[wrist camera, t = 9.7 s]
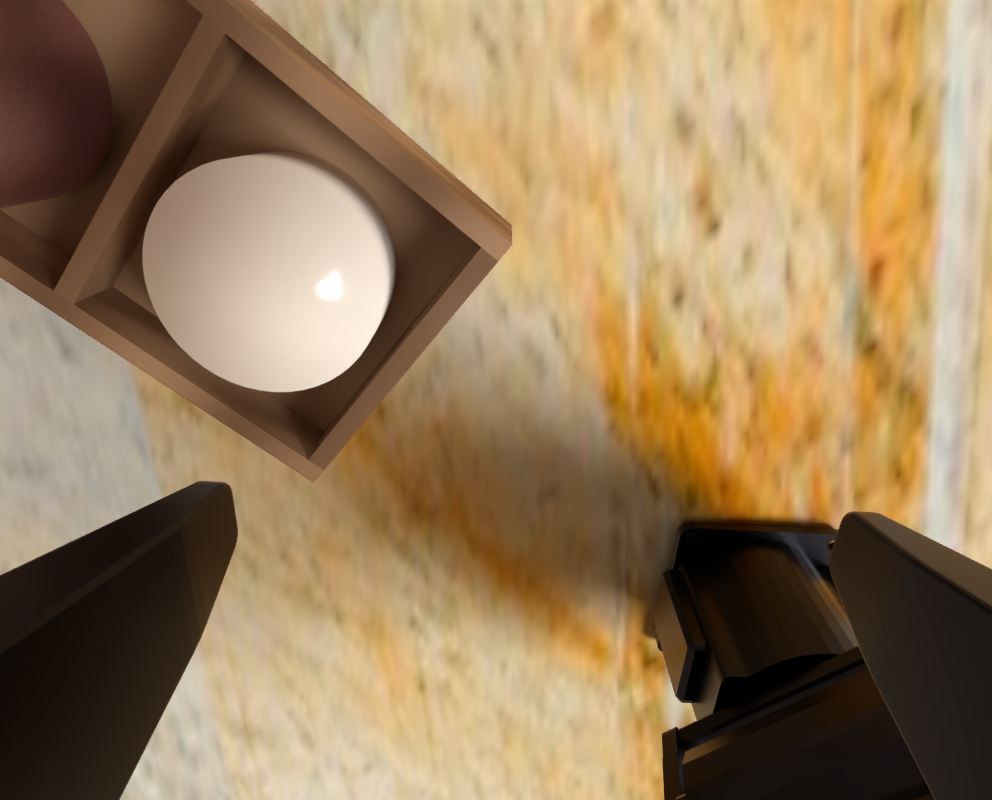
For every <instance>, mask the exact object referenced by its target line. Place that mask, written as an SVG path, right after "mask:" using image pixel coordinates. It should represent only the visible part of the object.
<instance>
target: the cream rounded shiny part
mask: <svg viewBox="0 0 992 800" xmlns="http://www.w3.org/2000/svg"><path fill="white" fill-rule="evenodd" d="M142 263H143V272H144V279H145V283H146V287H147V291H148V294H149V297H150V299H151V302H152V305H153V307H154V309H155V311H156V313H157V315H158V317H159V319H160V321H161V322H162V324H163V325H164V327H165V328H166V330H167V331H168V333H169V334H170V336H171V337H172V338H173V339H174V340H175V341H176V343H177V344H178V345H179V346H180V347H181V348H182V349H183V350H184V351H185V352H186V353H187V354H188V355H189V356H190V357H191V358H192V359H194V360H195V361H196V362H198V363H199V364H200V365H202V366H203V367H204V368H206V369H207V370H209V371H211V372H212V373H214V374H216V375H217V376H219V377H221V378H223V379H226V380H228V381H230V382H232V383H235V384H238V385H241V386H244V387H247V388H251V389H256V390H260V391H269V392H293V391H300V390H305V389H309V388H313V387H316V386H319V385H321V384H324V383H326V382H328V381H330V380H332V379H334V378H335V377H337V376H339V375H340V374H342V373H343V372H344V371H345V370H347V369H348V368H349V367H350V366H352V364H353V363H354V362H355V361H356V360H357V359H358V358H359V357H360V356H361V354H362V353H363V351H364V350H365V349H366V347H367V346H368V344H369V342H370V341H371V339H372V337H373V336H374V334H375V332H376V331H377V329H378V327H379V325H380V324H381V322H382V320H383V319H384V317H385V315H386V313H387V311H388V309H389V307H390V305H391V302H392V299H393V296H394V293H395V289H396V283H397V273H398V263H397V252H396V247H395V243H394V239H393V236H392V233H391V230H390V227H389V225H388V223H387V221H386V219H385V217H384V215H383V213H382V211H381V210H380V208H379V206H378V205H377V203H376V202H375V200H374V199H373V198H372V197H371V196H370V194H369V193H368V192H367V191H366V190H365V188H363V187H362V186H361V185H360V184H359V183H358V182H357V181H356V180H355V179H354V178H353V177H351V176H350V175H348V174H347V173H346V172H344V171H343V170H342V169H340V168H338V167H336V166H335V165H333V164H331V163H329V162H327V161H325V160H322V159H320V158H317V157H315V156H311V155H307V154H304V153H300V152H292V151H268V152H262V153H256V154H250V155H244V156H238V157H233V158H227V159H221V160H216V161H213V162H210V163H207V164H204V165H201V166H199V167H197V168H195V169H193V170H191V171H189V172H187V173H186V174H185V175H183V176H182V177H180V178H179V179H178V180H176V181H175V182H174V183H173V184H172V185H171V186H170V187H169V188H168V189H167V190H166V191H165V192H164V194H163V195H162V197H161V198H160V199H159V201H158V202H157V204H156V205H155V207H154V209H153V211H152V214H151V216H150V218H149V221H148V224H147V227H146V230H145V235H144V241H143V254H142Z"/></svg>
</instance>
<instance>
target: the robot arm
mask: <svg viewBox="0 0 992 800" xmlns="http://www.w3.org/2000/svg"><path fill="white" fill-rule="evenodd" d="M691 533H695V536H693V537H690V538H688V537H687V535H689V534H691ZM237 537H238V528H237V521H236V515H235V508H234V502H233V495H232V490H231V488H230V486H229V485H228V484H227V483H225V482H211V481H199V482H196V483H194V484H192V485H190V486H188V487H186V488H183V489H181V490H179V491H177V492H175V493H173V494H171V495H169V496H167V497H164V498H162V499H160V500H158V501H156V502H154V503H152V504H150V505H148V506H145V507H143V508H141V509H139V510H137V511H135V512H133V513H131V514H129V515H127V516H124V517H122V518H120V519H118V520H116V521H114V522H112V523H110V524H108V525H105V526H103V527H101V528H99V529H97V530H95V531H93V532H91V533H89V534H86V535H84V536H82V537H80V538H78V539H76V540H74V541H72V542H70V543H67V544H65V545H63V546H61V547H59V548H57V549H55V550H53V551H51V552H48V553H46V554H44V555H42V556H40V557H38V558H36V559H34V560H32V561H29V562H27V563H25V564H23V565H21V566H19V567H17V568H15V569H13V570H11V571H8V572H6V573H4V574H2V575H0V800H119V799H120V798H121V796H122V794H123V792H124V790H125V788H126V786H127V784H128V782H129V780H130V778H131V776H132V774H133V772H134V770H135V768H136V766H137V764H138V762H139V760H140V758H141V756H142V754H143V752H144V750H145V748H146V746H147V744H148V742H149V740H150V738H151V736H152V734H153V732H154V730H155V728H156V726H157V725H158V723H159V721H160V719H161V717H162V715H163V713H164V711H165V709H166V707H167V705H168V703H169V701H170V699H171V697H172V695H173V693H174V691H175V689H176V687H177V685H178V683H179V681H180V679H181V677H182V675H183V673H184V671H185V669H186V667H187V665H188V663H189V661H190V659H191V657H192V655H193V654H194V651H195V649H196V647H197V645H198V643H199V641H200V639H201V637H202V634H203V632H204V629H205V627H206V624H207V622H208V619H209V617H210V614H211V611H212V608H213V606H214V603H215V600H216V598H217V595H218V592H219V590H220V587H221V584H222V581H223V579H224V576H225V573H226V571H227V568H228V565H229V563H230V560H231V557H232V555H233V552H234V549H235V546H236V543H237ZM832 540H835V541H834V542H833V543H831V544H828V543H829V542H831V541H832ZM653 620H654V624H655V627H656V631H657V633H656V642H657V646H658V648H659V650H660V651H662V652H663V655H664V658H665V662H666V665H667V669H668V672H669V676H670V679H671V683H672V686H673V690H674V693H675V696H676V697H677V698H678V699H679V700H680V702H682V703H691V704H692V707H693V710H694V713H695V717H696V720H697V721H695V722H693V723H691V724H689V725H687V726H684V727H682V728H680V729H678V728H677V727H675V728H673V729H671V730H668V731H666V732H664V733H662V745H663V779H664V799H665V800H992V569H990V568H988V567H986V566H984V565H982V564H980V563H978V562H976V561H974V560H972V559H970V558H968V557H966V556H964V555H962V554H960V553H958V552H956V551H954V550H952V549H950V548H948V547H946V546H944V545H942V544H940V543H938V542H936V541H934V540H932V539H930V538H928V537H926V536H924V535H922V534H920V533H918V532H916V531H913V530H911V529H909V528H907V527H905V526H903V525H901V524H899V523H897V522H895V521H893V520H891V519H889V518H887V517H885V516H883V515H881V514H879V513H874V512H849V513H847V514H846V515H845V516H844V517H843V519H842V521H841V524H840V527H839V530H836V529H830V528H809V527H789V526H768V525H748V524H727V523H706V522H687V523H685V524H682V525H681V526H680V527H679V529H678V531H677V535H676V540H675V545H674V550H673V554H672V559H671V564H670V569H666V570H665V571H664V573H663V574H662V577H661V582H660V587H659V592H658V597H657V602H656V607H655V612H654V617H653Z"/></svg>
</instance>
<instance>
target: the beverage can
mask: <svg viewBox="0 0 992 800" xmlns="http://www.w3.org/2000/svg"><path fill="white" fill-rule="evenodd" d="M112 126H113V99H112V93H111V87H110V83H109V79H108V76H107V73H106V70H105V67H104V64H103V62H102V59H101V57H100V55H99V53H98V51H97V49H96V47H95V45H94V43H93V41H92V40H91V38H90V36H89V35H88V33H87V31H86V30H85V28H84V27H83V25H82V24H81V22H80V21H79V20H78V18H77V17H76V16H75V15H74V13H73V12H72V11H71V10H70V9H69V7H68V6H67V5H66V4H65V3H64V2H63V1H62V0H0V209H1V208H6V207H11V206H17V205H22V204H27V203H32V202H37V201H42V200H47V199H52V198H56V197H59V196H62V195H65V194H67V193H69V192H71V191H73V190H75V189H77V188H78V187H80V186H81V185H82V184H84V183H85V182H86V181H87V180H88V179H89V178H90V177H91V176H92V175H93V174H94V173H95V171H96V170H97V169H98V167H99V166H100V164H101V162H102V160H103V158H104V156H105V154H106V151H107V149H108V146H109V142H110V138H111V133H112Z"/></svg>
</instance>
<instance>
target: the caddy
mask: <svg viewBox="0 0 992 800" xmlns="http://www.w3.org/2000/svg"><path fill="white" fill-rule="evenodd" d="M62 1H63V2H64V3H65V4H66V5H67V6H68V7H69V9H70V10H71V11H72V12H73V13H74V15H75V16H76V17H77V18H78V20H79V21H80V22H81V24H82V25H83V27H84V28H85V30H86V31H87V33H88V35H89V36H90V38H91V40H92V41H93V43H94V45H95V47H96V49H97V51H98V53H99V55H100V57H101V59H102V62H103V64H104V67H105V70H106V73H107V76H108V79H109V83H110V87H111V93H112V99H113V126H112V133H111V138H110V142H109V146H108V149H107V151H106V154H105V156H104V158H103V160H102V162H101V164H100V166H99V167H98V169H97V170H96V171H95V173H94V174H93V175H92V176H91V177H90V178H89V179H88V180H87V181H86V182H85V183H84V184H82V185H81V186H80V187H78V188H77V189H75V190H73V191H71V192H69V193H67V194H65V195H62V196H59V197H56V198H52V199H47V200H42V201H37V202H32V203H27V204H22V205H17V206H11V207H6V208H1V209H0V277H1V278H2V279H4V280H5V281H7V282H8V283H10V284H11V285H13V286H14V287H16V288H17V289H19V290H20V291H22V292H24V293H25V294H27V295H28V296H30V297H31V298H33V299H34V300H36V301H37V302H39V303H40V304H42V305H43V306H45V307H46V308H48V309H49V310H51V311H53V312H54V313H56V314H57V315H59V316H60V317H62V318H63V319H65V320H66V321H68V322H69V323H71V324H72V325H74V326H75V327H77V328H79V329H80V330H82V331H83V332H85V333H86V334H88V335H89V336H91V337H92V338H94V339H95V340H97V341H98V342H100V343H101V344H103V345H104V346H106V347H108V348H109V349H111V350H112V351H114V352H115V353H117V354H118V355H120V356H121V357H123V358H124V359H126V360H127V361H129V362H130V363H132V364H133V365H135V366H137V367H138V368H140V369H141V370H143V371H144V372H146V373H147V374H149V375H150V376H152V377H153V378H155V379H156V380H158V381H159V382H161V383H162V384H164V385H166V386H167V387H169V388H170V389H172V390H173V391H175V392H176V393H178V394H179V395H181V396H182V397H184V398H185V399H187V400H188V401H190V402H191V403H193V404H195V405H196V406H198V407H199V408H201V409H202V410H204V411H205V412H207V413H208V414H210V415H211V416H213V417H214V418H216V419H217V420H219V421H221V422H222V423H224V424H225V425H227V426H228V427H230V428H231V429H233V430H234V431H236V432H237V433H239V434H240V435H242V436H243V437H245V438H246V439H248V440H250V441H251V442H253V443H254V444H256V445H257V446H259V447H260V448H262V449H263V450H265V451H266V452H268V453H269V454H271V455H272V456H274V457H275V458H277V459H279V460H280V461H282V462H283V463H285V464H286V465H288V466H289V467H291V468H292V469H294V470H295V471H297V472H298V473H300V474H301V475H303V476H304V477H306V478H308V479H309V480H311V481H312V482H314V481H315V480H316V479H317V478H318V477H319V475H320V474H321V473H322V472H323V471H324V469H325V468H326V467H327V466H328V465H329V463H330V462H331V461H332V460H333V459H334V457H335V456H336V455H337V454H338V453H339V451H340V450H341V449H342V448H343V447H344V445H345V444H346V443H347V442H348V441H349V439H350V438H351V437H352V436H353V435H354V433H355V432H356V431H357V430H358V429H359V427H360V426H361V425H362V424H363V423H364V422H365V420H366V419H367V418H368V417H369V416H370V414H371V413H372V412H373V411H374V410H375V408H376V407H377V406H378V405H379V404H380V402H381V401H382V400H383V399H384V398H385V396H386V395H387V394H388V393H389V392H390V390H391V389H392V388H393V387H394V386H395V384H396V383H397V382H398V381H399V380H400V378H401V377H402V376H403V375H404V374H405V372H406V371H407V370H408V369H409V368H410V366H411V365H412V364H413V363H414V362H415V360H416V359H417V358H418V357H419V356H420V354H421V353H422V352H423V351H424V350H425V348H426V347H427V346H428V345H429V344H430V342H431V341H432V340H433V339H434V338H435V336H436V335H437V334H438V333H439V332H440V330H441V329H442V328H443V327H444V326H445V324H446V323H447V322H448V321H449V320H450V318H451V317H452V316H453V315H454V314H455V312H456V311H457V310H458V309H459V308H460V306H461V305H462V304H463V303H464V302H465V300H466V299H467V298H468V297H469V296H470V294H471V293H472V292H473V291H474V290H475V288H476V287H477V286H478V285H479V284H480V283H481V281H482V280H483V279H484V278H485V277H486V275H487V274H488V273H489V272H490V271H491V269H492V268H493V267H494V266H495V265H496V263H497V262H498V261H499V260H500V259H501V257H502V256H503V255H504V254H505V253H506V251H507V250H508V249H509V248H510V247H511V245H512V228H511V224H509V223H508V222H507V221H506V220H505V219H504V218H502V217H501V216H500V215H499V214H498V213H497V212H496V211H494V210H493V209H492V208H491V207H490V206H489V205H487V204H486V203H485V202H484V201H483V200H482V199H480V198H479V197H478V196H477V195H476V194H475V193H473V192H472V191H471V190H470V189H469V188H468V187H466V186H465V185H464V184H463V183H462V182H461V181H460V180H458V179H457V178H456V177H455V176H454V175H453V174H451V173H450V172H449V171H448V170H447V169H446V168H444V167H443V166H442V165H441V164H440V163H439V162H437V161H436V160H435V159H434V158H433V157H432V156H430V155H429V154H428V153H427V152H426V151H425V150H423V149H422V148H421V147H420V146H419V145H418V144H417V143H415V142H414V141H413V140H412V139H411V138H410V137H408V136H407V135H406V134H405V133H404V132H403V131H401V130H400V129H399V128H398V127H397V126H396V125H394V124H393V123H392V122H391V121H390V120H389V119H387V118H386V117H385V116H384V115H383V114H382V113H381V112H379V111H378V110H377V109H376V108H375V107H374V106H372V105H371V104H370V103H369V102H368V101H367V100H365V99H364V98H363V97H362V96H361V95H360V94H358V93H357V92H356V91H355V90H354V89H353V88H351V87H350V86H349V85H348V84H347V83H346V82H345V81H343V80H342V79H341V78H340V77H339V76H338V75H336V74H335V73H334V72H333V71H332V70H331V69H329V68H328V67H327V66H326V65H325V64H324V63H322V62H321V61H320V60H319V59H318V58H317V57H315V56H314V55H313V54H312V53H311V52H310V51H308V50H307V49H306V48H305V47H304V46H303V45H302V44H300V43H299V42H298V41H297V40H296V39H295V38H293V37H292V36H291V35H290V34H289V33H288V32H286V31H285V30H284V29H283V28H282V27H281V26H279V25H278V24H277V23H276V22H275V21H274V20H272V19H271V18H270V17H269V16H268V15H267V14H266V13H264V12H263V11H262V10H261V9H260V8H259V7H257V6H256V5H255V4H254V3H253V2H252V1H250V0H62ZM268 151H292V152H300V153H304V154H307V155H311V156H315V157H317V158H320V159H322V160H325V161H327V162H329V163H331V164H333V165H335V166H336V167H338V168H340V169H342V170H343V171H344V172H346V173H347V174H348V175H350V176H351V177H353V178H354V179H355V180H356V181H357V182H358V183H359V184H360V185H361V186H362V187H363V188H365V190H366V191H367V192H368V193H369V194H370V196H371V197H372V198H373V199H374V200H375V202H376V203H377V205H378V206H379V208H380V210H381V211H382V213H383V215H384V217H385V219H386V221H387V223H388V225H389V227H390V230H391V233H392V236H393V239H394V243H395V247H396V252H397V263H398V273H397V283H396V289H395V293H394V296H393V299H392V302H391V305H390V307H389V309H388V311H387V313H386V315H385V317H384V319H383V320H382V322H381V324H380V325H379V327H378V329H377V331H376V332H375V334H374V336H373V337H372V339H371V341H370V342H369V344H368V346H367V347H366V349H365V350H364V351H363V353H362V354H361V356H360V357H359V358H358V359H357V360H356V361H355V362H354V363H353V364H352V366H350V367H349V368H348V369H347V370H345V371H344V372H343V373H342V374H340V375H339V376H337V377H335V378H334V379H332V380H330V381H328V382H326V383H324V384H321V385H319V386H316V387H313V388H309V389H305V390H300V391H293V392H269V391H260V390H256V389H251V388H247V387H244V386H241V385H238V384H235V383H232V382H230V381H228V380H226V379H223V378H221V377H219V376H217V375H216V374H214V373H212V372H211V371H209V370H207V369H206V368H204V367H203V366H202V365H200V364H199V363H198V362H196V361H195V360H194V359H192V358H191V357H190V356H189V355H188V354H187V353H186V352H185V351H184V350H183V349H182V348H181V347H180V346H179V345H178V344H177V343H176V341H175V340H174V339H173V338H172V337H171V336H170V334H169V333H168V331H167V330H166V328H165V327H164V325H163V324H162V322H161V321H160V319H159V317H158V315H157V313H156V311H155V309H154V307H153V305H152V302H151V299H150V297H149V294H148V291H147V287H146V283H145V279H144V272H143V263H142V254H143V241H144V235H145V230H146V227H147V224H148V221H149V218H150V216H151V214H152V211H153V209H154V207H155V205H156V204H157V202H158V201H159V199H160V198H161V197H162V195H163V194H164V192H165V191H166V190H167V189H168V188H169V187H170V186H171V185H172V184H173V183H174V182H175V181H176V180H178V179H179V178H180V177H182V176H183V175H185V174H186V173H187V172H189V171H191V170H193V169H195V168H197V167H199V166H201V165H204V164H207V163H210V162H213V161H216V160H221V159H227V158H233V157H238V156H244V155H250V154H256V153H262V152H268Z"/></svg>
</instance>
